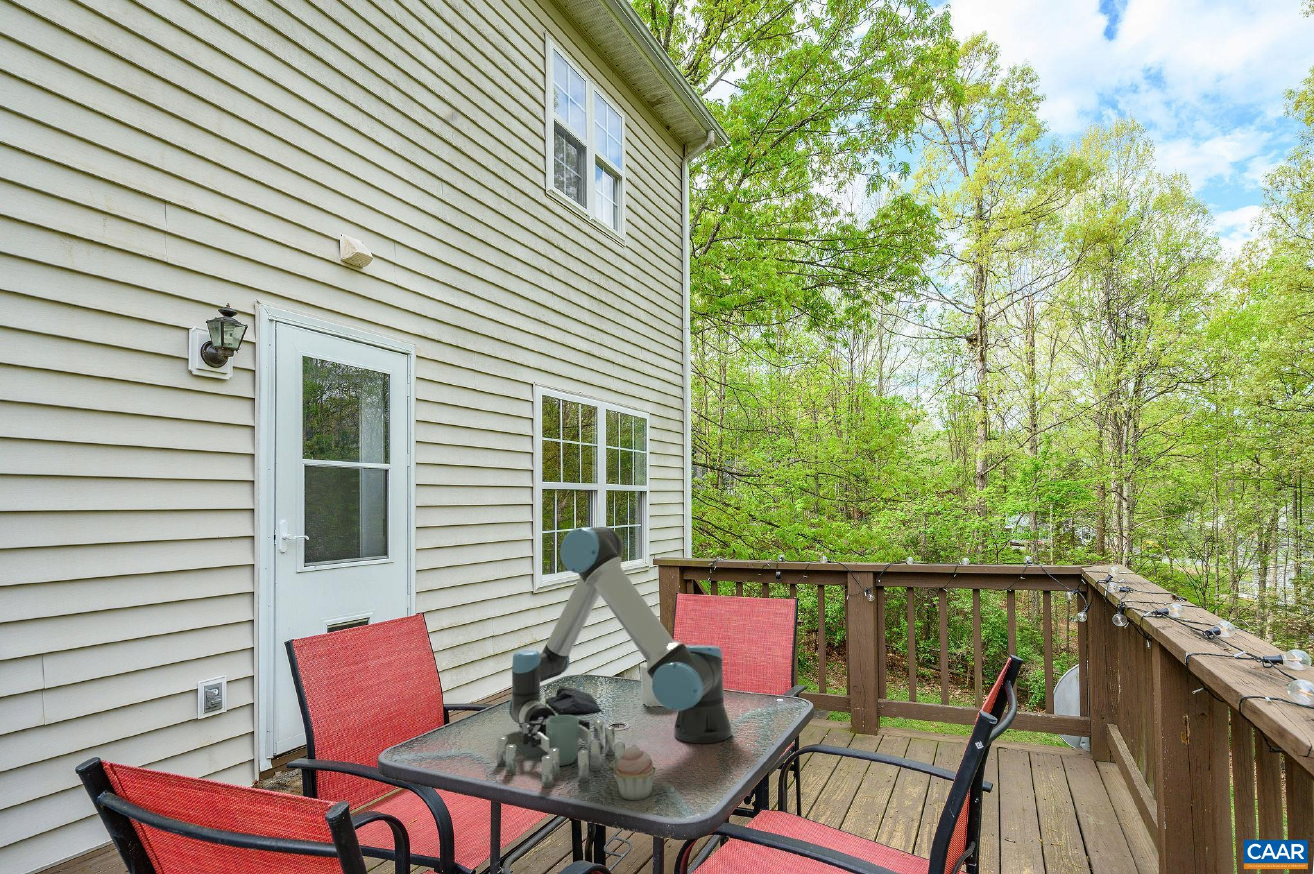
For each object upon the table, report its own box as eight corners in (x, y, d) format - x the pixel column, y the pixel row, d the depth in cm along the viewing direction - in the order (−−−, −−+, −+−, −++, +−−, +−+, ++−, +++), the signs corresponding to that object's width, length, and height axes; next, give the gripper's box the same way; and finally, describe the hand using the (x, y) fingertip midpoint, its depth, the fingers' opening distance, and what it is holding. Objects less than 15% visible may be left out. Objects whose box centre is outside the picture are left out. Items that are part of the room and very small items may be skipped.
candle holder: (671, 707, 208) (670, 667, 210) (639, 708, 208) (639, 667, 210) (671, 699, 218) (670, 660, 220) (641, 700, 218) (640, 661, 220)
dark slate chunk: (554, 719, 201) (554, 702, 201) (544, 701, 222) (544, 686, 222) (604, 713, 205) (604, 697, 206) (590, 696, 226) (590, 682, 227)
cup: (552, 771, 156) (551, 725, 158) (541, 761, 163) (541, 717, 165) (583, 765, 160) (583, 720, 161) (572, 755, 167) (571, 713, 168)
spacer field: (496, 763, 162) (496, 737, 163) (615, 740, 177) (615, 716, 178) (525, 795, 143) (525, 764, 143) (656, 766, 158) (655, 739, 159)
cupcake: (662, 787, 145) (661, 738, 146) (651, 805, 136) (649, 752, 137) (621, 784, 147) (620, 736, 148) (607, 801, 138) (606, 750, 139)
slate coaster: (513, 745, 176) (513, 743, 176) (556, 737, 182) (556, 735, 182) (527, 758, 166) (527, 756, 166) (573, 749, 171) (573, 747, 171)
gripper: (577, 726, 183) (612, 749, 163) (495, 741, 172) (522, 767, 153) (577, 697, 184) (612, 717, 164) (495, 710, 173) (522, 732, 154)
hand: (568, 741), depth 159 cm, fingers open, 10 cm apart
